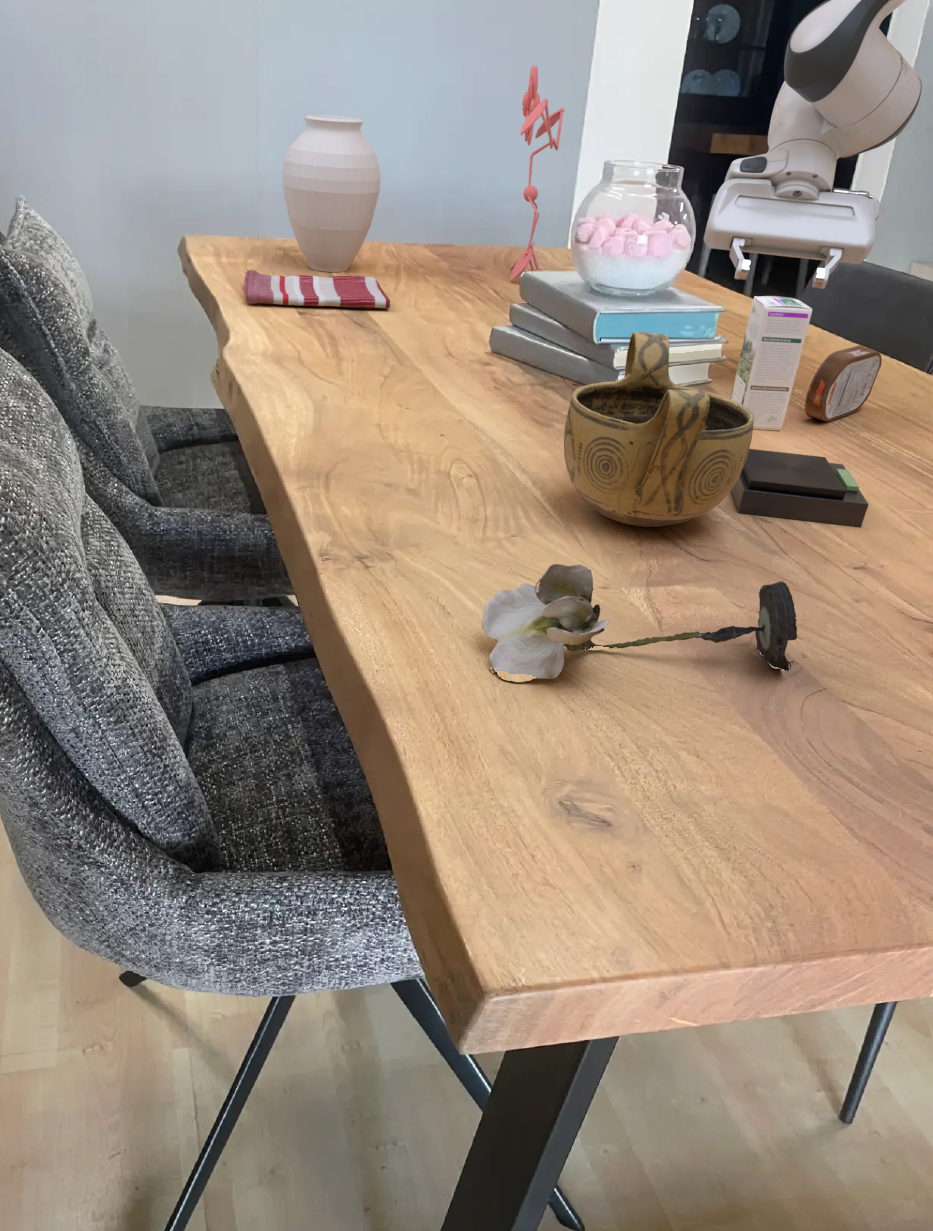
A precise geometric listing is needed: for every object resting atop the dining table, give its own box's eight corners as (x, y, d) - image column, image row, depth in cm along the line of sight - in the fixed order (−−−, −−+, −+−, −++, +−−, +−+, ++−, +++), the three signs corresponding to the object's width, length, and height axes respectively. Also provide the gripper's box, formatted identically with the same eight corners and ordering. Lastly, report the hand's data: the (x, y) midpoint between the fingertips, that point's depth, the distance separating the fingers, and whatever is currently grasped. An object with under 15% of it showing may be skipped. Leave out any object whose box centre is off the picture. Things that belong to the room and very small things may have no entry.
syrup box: (782, 431, 130) (817, 307, 122) (735, 427, 130) (766, 303, 122) (769, 417, 135) (801, 297, 127) (723, 414, 134) (752, 293, 126)
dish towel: (243, 284, 182) (243, 267, 181) (377, 290, 186) (378, 274, 184) (245, 306, 168) (245, 288, 167) (390, 311, 172) (391, 294, 170)
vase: (280, 257, 206) (282, 109, 192) (370, 261, 208) (378, 116, 195) (282, 274, 191) (284, 116, 178) (379, 279, 194) (388, 123, 180)
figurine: (546, 269, 215) (575, 67, 195) (540, 293, 193) (571, 68, 174) (472, 261, 216) (493, 60, 197) (457, 284, 195) (479, 61, 176)
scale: (836, 485, 114) (845, 456, 112) (861, 527, 104) (871, 496, 102) (723, 472, 115) (731, 444, 113) (738, 512, 105) (746, 482, 103)
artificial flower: (797, 712, 76) (834, 610, 68) (484, 721, 77) (485, 621, 69) (770, 626, 82) (800, 523, 74) (479, 635, 83) (480, 535, 75)
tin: (848, 403, 143) (868, 339, 138) (871, 409, 141) (891, 344, 136) (796, 422, 134) (815, 354, 129) (819, 429, 132) (839, 360, 127)
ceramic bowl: (543, 469, 112) (566, 322, 104) (702, 482, 112) (737, 336, 104) (563, 555, 93) (592, 383, 85) (754, 570, 93) (801, 400, 85)
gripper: (873, 211, 135) (859, 306, 132) (710, 194, 138) (694, 287, 135) (890, 175, 129) (876, 274, 126) (719, 158, 132) (702, 254, 129)
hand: (780, 280), depth 131 cm, fingers open, 8 cm apart
